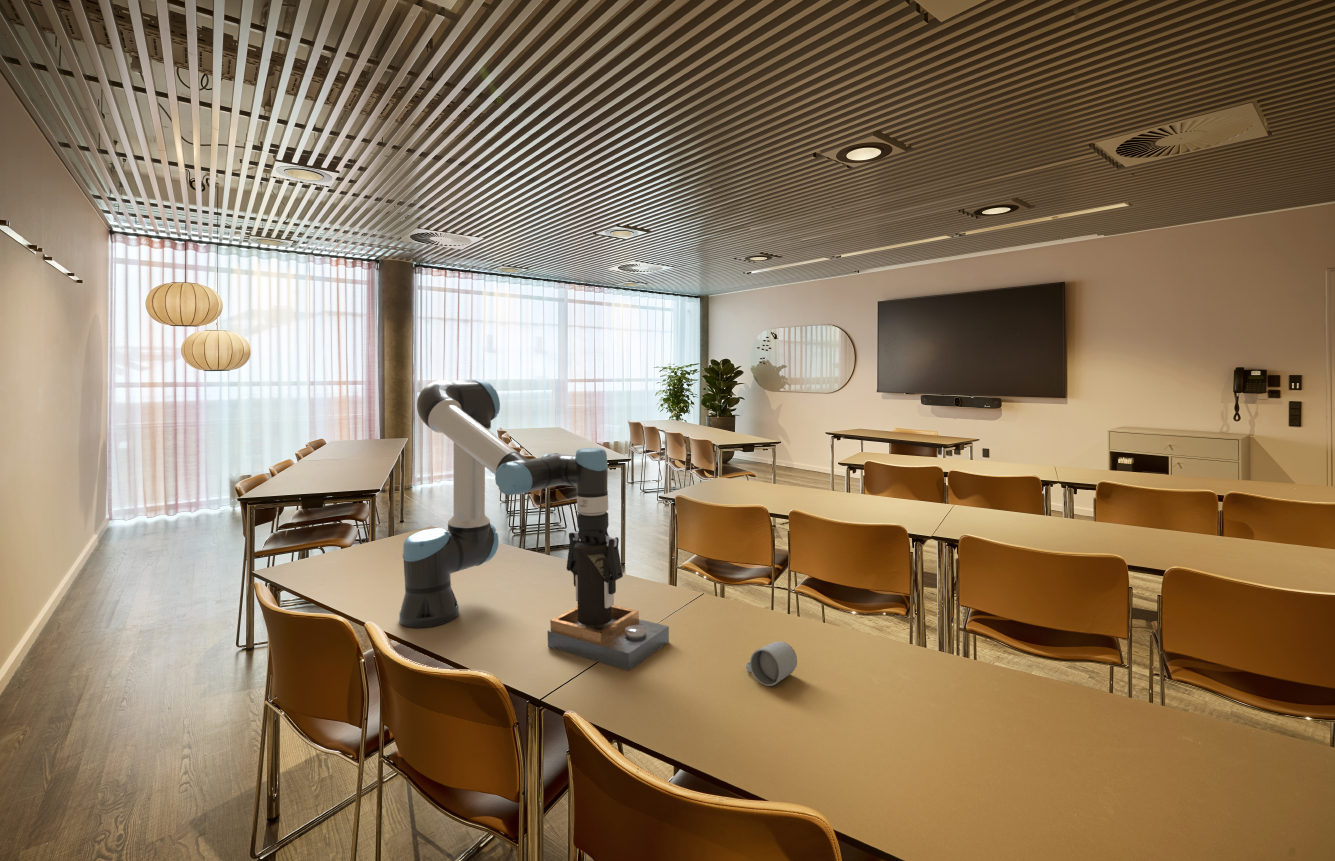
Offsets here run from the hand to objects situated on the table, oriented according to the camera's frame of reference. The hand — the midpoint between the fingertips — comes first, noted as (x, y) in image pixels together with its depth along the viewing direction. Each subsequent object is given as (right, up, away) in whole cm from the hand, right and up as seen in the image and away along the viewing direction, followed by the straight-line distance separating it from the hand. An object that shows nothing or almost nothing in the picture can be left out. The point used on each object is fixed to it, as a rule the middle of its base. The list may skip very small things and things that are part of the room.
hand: (594, 602), depth 150 cm
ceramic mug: (+40, -11, -18) cm, 45 cm away
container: (0, -5, 0) cm, 5 cm away
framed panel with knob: (+4, -10, -1) cm, 11 cm away
